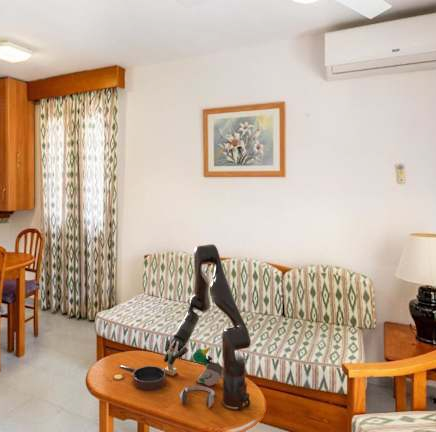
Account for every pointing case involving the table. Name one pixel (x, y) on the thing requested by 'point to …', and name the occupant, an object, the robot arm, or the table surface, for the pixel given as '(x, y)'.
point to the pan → (149, 378)
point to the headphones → (209, 397)
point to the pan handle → (127, 368)
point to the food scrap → (118, 376)
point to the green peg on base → (170, 366)
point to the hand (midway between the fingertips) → (167, 362)
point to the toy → (208, 368)
